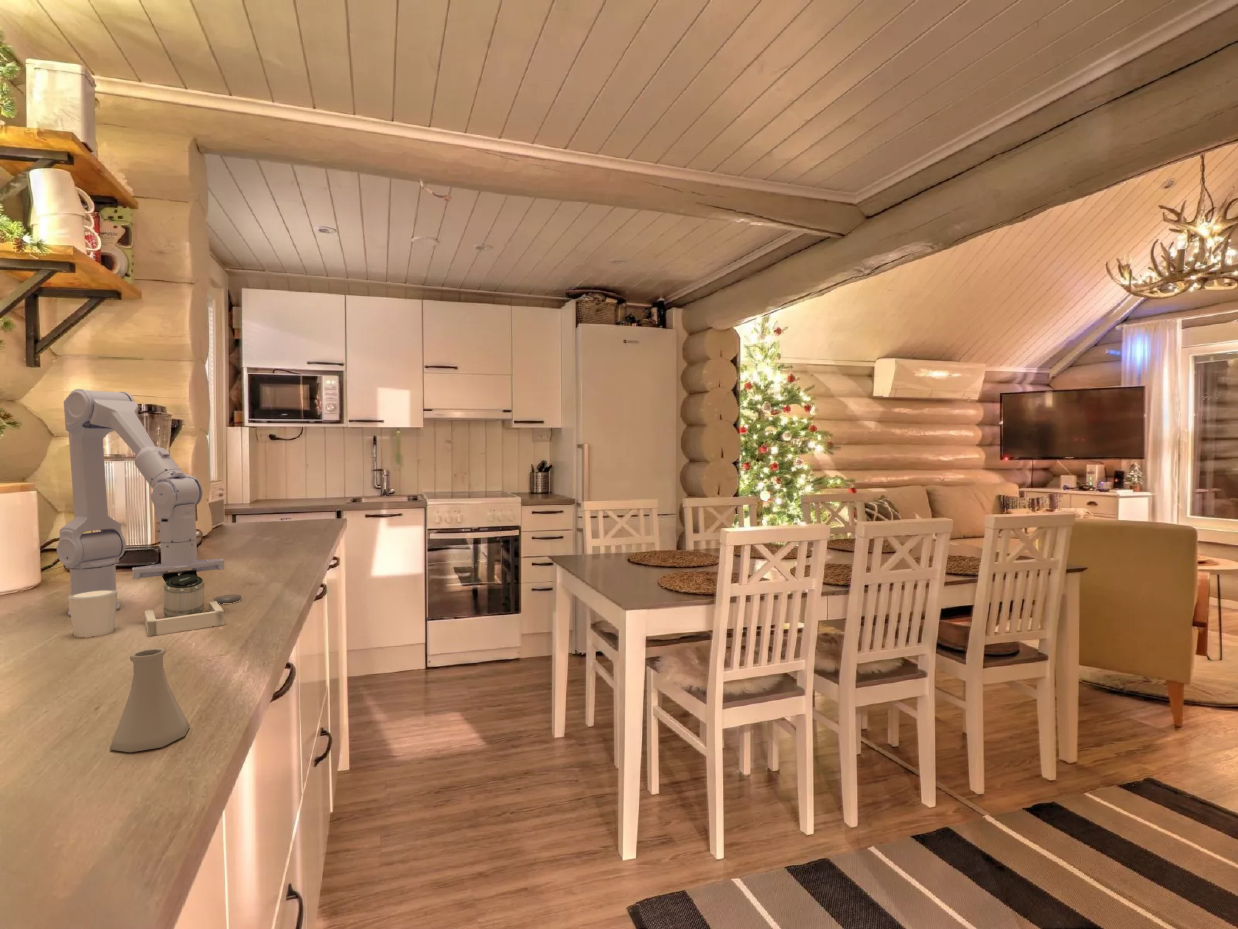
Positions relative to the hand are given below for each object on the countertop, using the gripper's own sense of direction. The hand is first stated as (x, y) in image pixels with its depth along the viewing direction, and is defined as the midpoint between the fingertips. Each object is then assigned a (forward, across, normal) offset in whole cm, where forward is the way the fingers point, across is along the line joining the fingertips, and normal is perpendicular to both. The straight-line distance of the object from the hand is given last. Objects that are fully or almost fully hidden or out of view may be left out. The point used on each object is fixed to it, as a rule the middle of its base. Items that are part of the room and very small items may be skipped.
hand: (181, 611), depth 127 cm
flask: (+1, -8, -60) cm, 61 cm away
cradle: (+1, 0, -6) cm, 6 cm away
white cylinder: (+1, -13, -2) cm, 13 cm away
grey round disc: (+1, +9, +9) cm, 13 cm away
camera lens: (+1, 0, -4) cm, 4 cm away
